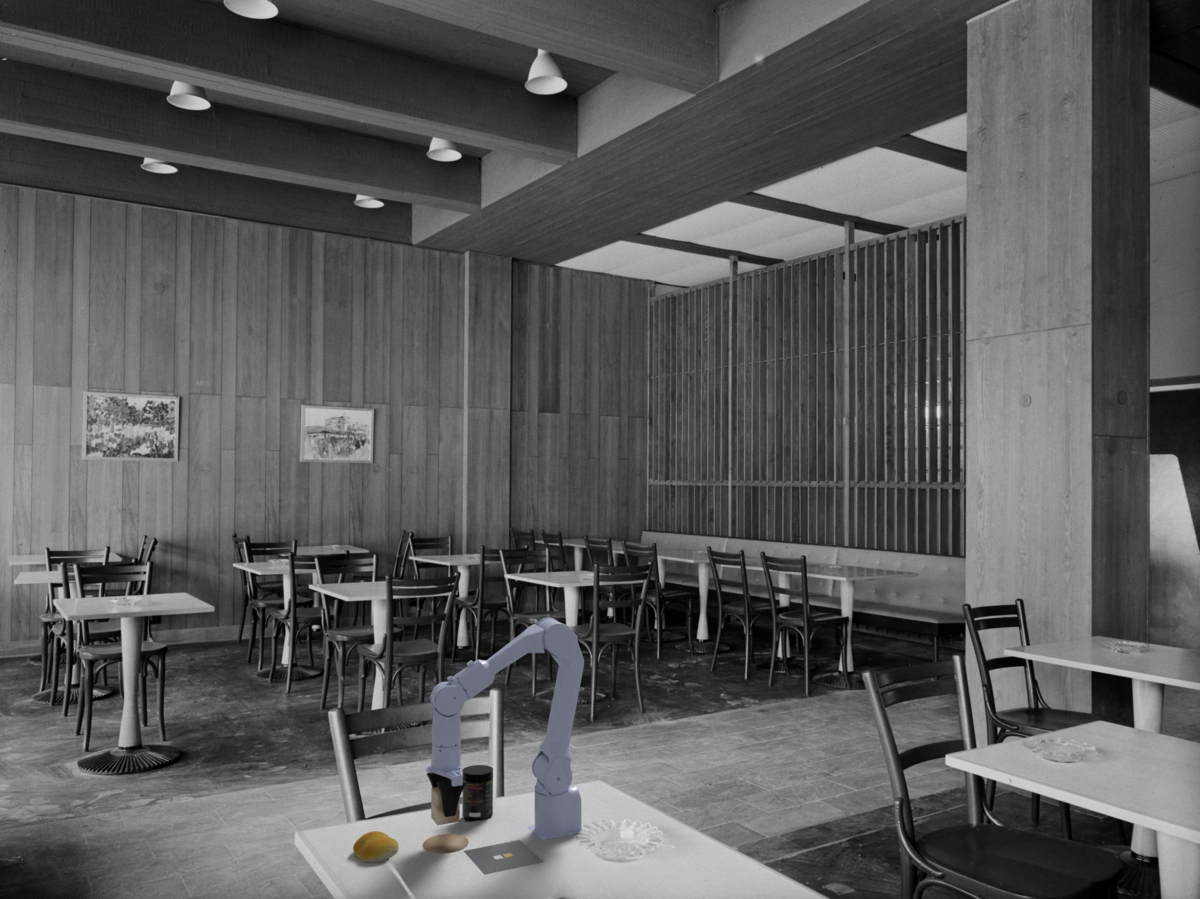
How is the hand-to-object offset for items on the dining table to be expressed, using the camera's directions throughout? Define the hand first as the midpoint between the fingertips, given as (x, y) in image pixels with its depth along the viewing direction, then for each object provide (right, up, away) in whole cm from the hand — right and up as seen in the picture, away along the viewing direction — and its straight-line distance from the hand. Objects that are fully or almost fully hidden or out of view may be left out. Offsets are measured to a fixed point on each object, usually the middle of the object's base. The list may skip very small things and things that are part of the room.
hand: (446, 811), depth 184 cm
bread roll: (-13, -7, -4) cm, 16 cm away
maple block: (0, -2, 0) cm, 2 cm away
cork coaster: (0, -7, 0) cm, 7 cm away
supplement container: (+4, -8, +15) cm, 18 cm away
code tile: (+12, -7, -6) cm, 15 cm away
